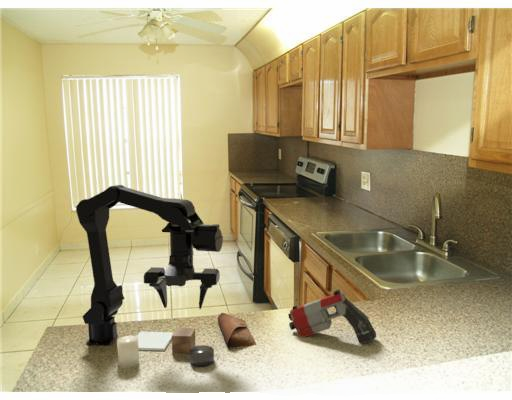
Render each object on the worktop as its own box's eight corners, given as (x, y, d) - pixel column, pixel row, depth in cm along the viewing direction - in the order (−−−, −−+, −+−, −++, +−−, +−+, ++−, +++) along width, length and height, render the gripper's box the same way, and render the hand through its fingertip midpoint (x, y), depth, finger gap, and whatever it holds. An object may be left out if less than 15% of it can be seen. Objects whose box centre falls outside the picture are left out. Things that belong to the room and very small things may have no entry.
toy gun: (307, 353, 131) (285, 307, 131) (376, 331, 124) (353, 282, 124) (303, 362, 126) (281, 313, 126) (375, 339, 119) (351, 288, 119)
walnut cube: (172, 354, 116) (171, 335, 115) (177, 345, 120) (176, 327, 120) (191, 354, 115) (190, 336, 114) (195, 346, 120) (195, 328, 119)
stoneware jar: (115, 367, 109) (113, 344, 108) (122, 357, 114) (121, 335, 113) (135, 368, 108) (134, 344, 107) (142, 358, 113) (141, 335, 112)
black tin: (187, 367, 109) (186, 356, 108) (192, 356, 115) (192, 344, 114) (211, 368, 108) (211, 356, 108) (215, 356, 114) (215, 345, 114)
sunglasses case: (258, 345, 120) (246, 325, 119) (236, 360, 119) (224, 341, 118) (244, 319, 137) (233, 302, 136) (225, 333, 136) (213, 316, 135)
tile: (127, 349, 118) (127, 347, 118) (140, 333, 128) (140, 331, 128) (164, 350, 117) (164, 348, 117) (174, 334, 127) (174, 332, 127)
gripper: (135, 256, 107) (137, 319, 109) (212, 258, 106) (212, 321, 108) (149, 246, 118) (151, 302, 120) (219, 247, 117) (220, 304, 119)
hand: (182, 307), depth 116 cm, fingers open, 9 cm apart
